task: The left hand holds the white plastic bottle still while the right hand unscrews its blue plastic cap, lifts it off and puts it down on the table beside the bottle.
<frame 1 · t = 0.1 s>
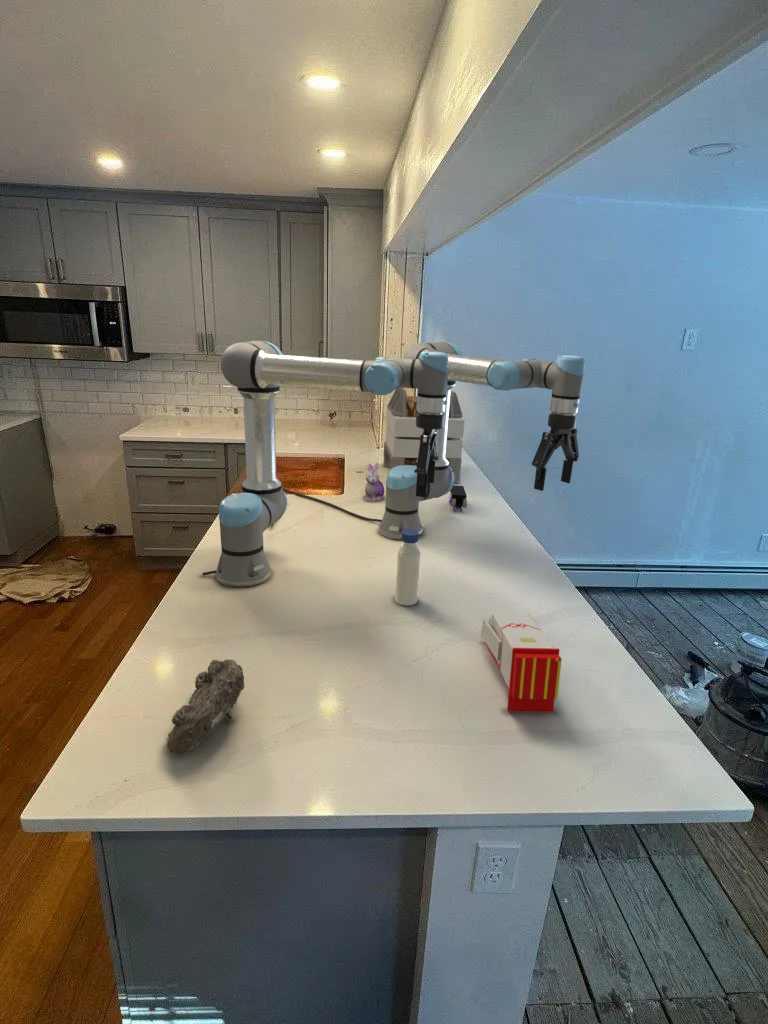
left hand: (425, 489, 157), 28 cm above the counter, tool pointing down, fingers open, 13 cm apart
right hand: (552, 485, 166), 28 cm above the counter, tool pointing down, fingers open, 13 cm apart
fossil: (212, 717, 108), on the counter
cap: (410, 533, 148), point 20 cm above the counter, screwed on, not yet turned
toy: (513, 671, 126), on the counter
feather: (278, 516, 211), on the counter
figurine: (374, 498, 235), on the counter
figurine character: (456, 507, 229), on the counter
bottle: (406, 600, 155), on the counter
grey slatted crate: (419, 473, 275), on the counter
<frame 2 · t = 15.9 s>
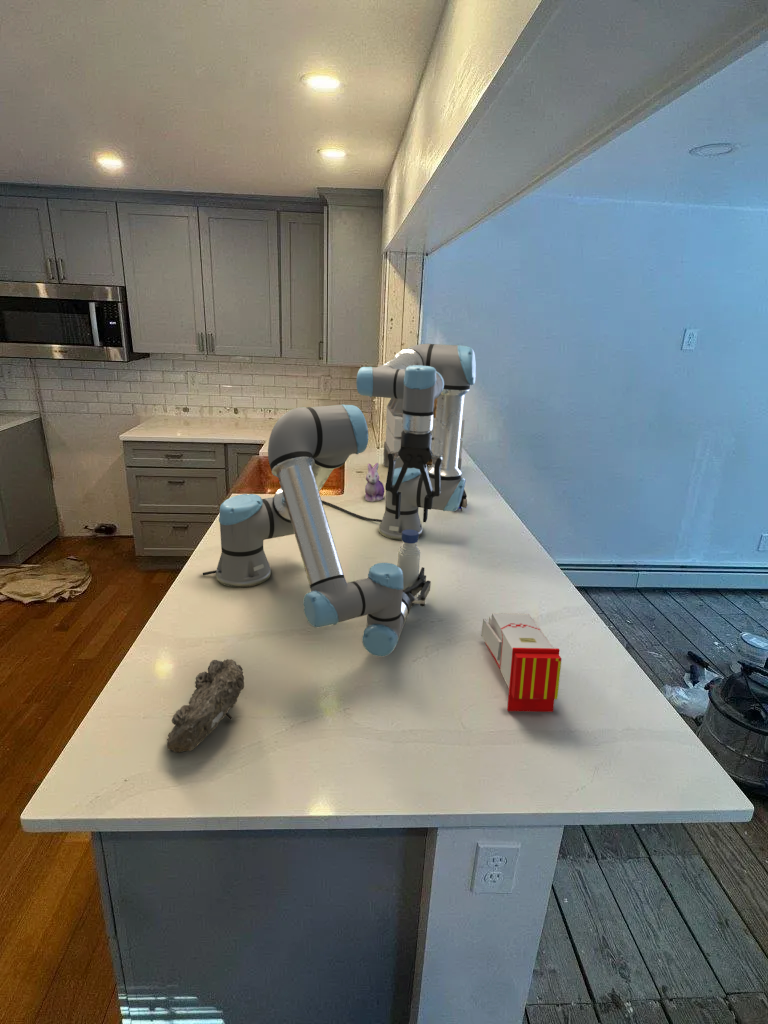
left hand: (411, 570, 157), 7 cm above the counter, tool horizontal, fingers closed on bottle, 6 cm apart
right hand: (411, 518, 147), 24 cm above the counter, tool pointing down, fingers open, 6 cm apart
bottle: (406, 600, 155), on the counter, touching left hand
everything else where it was.
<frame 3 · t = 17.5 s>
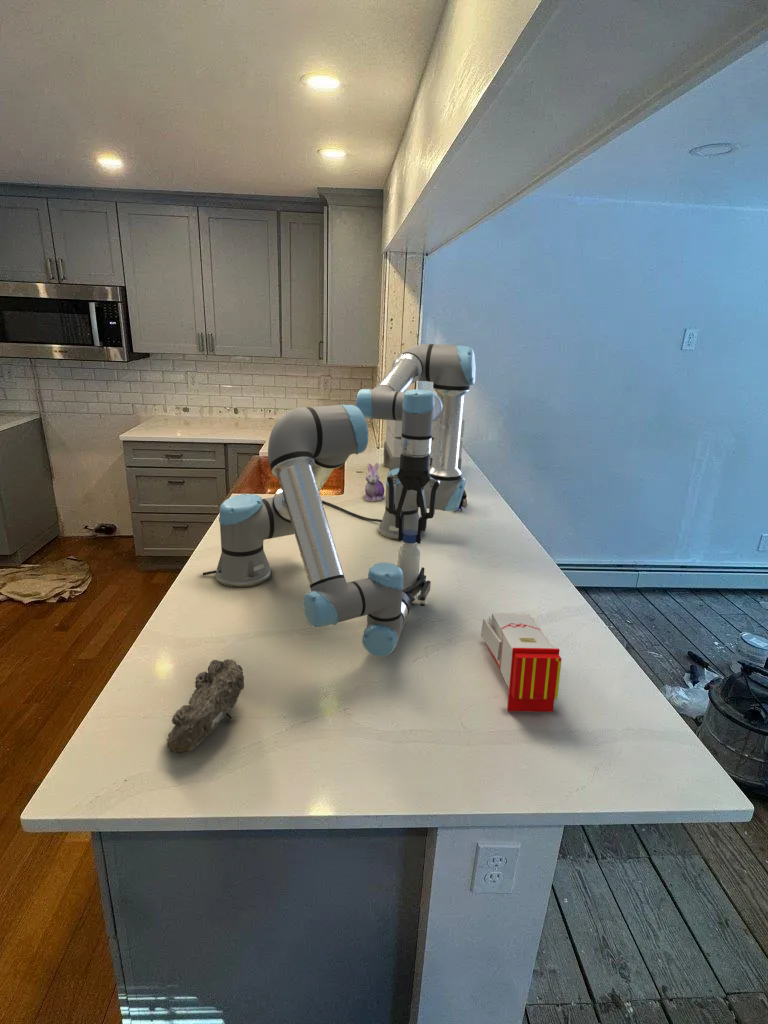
left hand: (411, 570, 157), 7 cm above the counter, tool horizontal, fingers closed on bottle, 6 cm apart
right hand: (409, 540, 149), 18 cm above the counter, tool pointing down, fingers closed on cap, 4 cm apart
cap: (410, 533, 148), point 20 cm above the counter, screwed on, not yet turned, touching right hand
bottle: (406, 600, 155), on the counter, touching left hand
everything else where it was.
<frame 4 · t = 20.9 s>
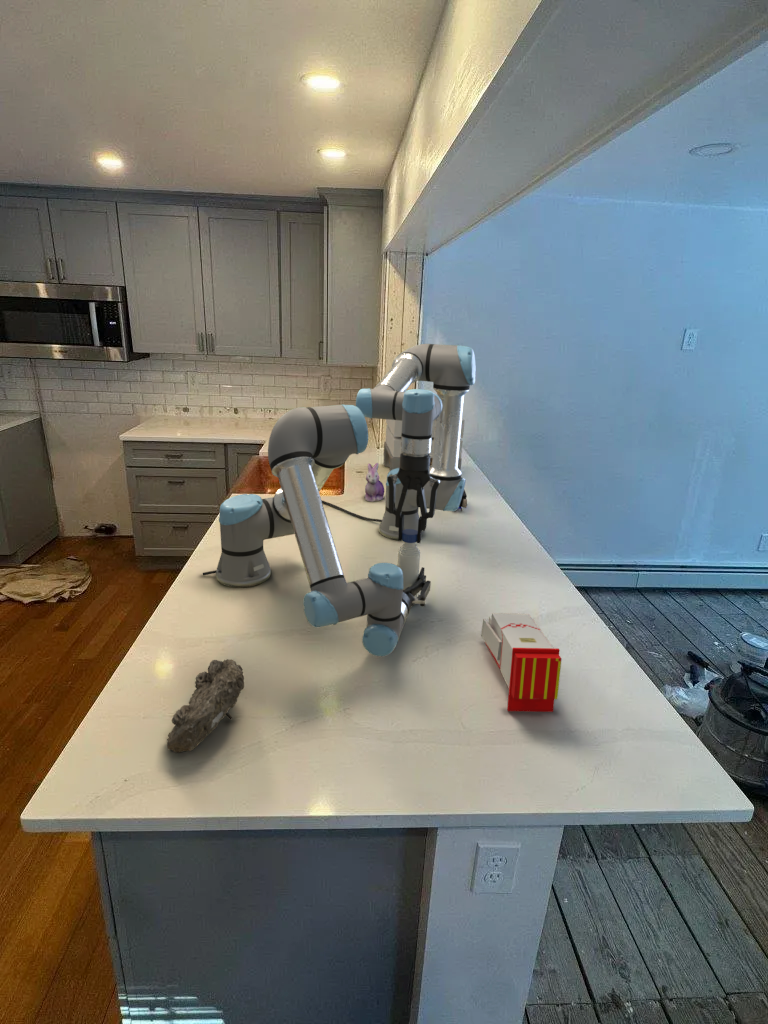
left hand: (411, 570, 157), 7 cm above the counter, tool horizontal, fingers closed on bottle, 6 cm apart
right hand: (409, 540, 149), 18 cm above the counter, tool pointing down, fingers closed on cap, 4 cm apart
cap: (410, 533, 148), point 20 cm above the counter, turned 107° so far, risen 0.1 cm, still on its thread, touching right hand
bottle: (406, 600, 155), on the counter, touching left hand
everything else where it was.
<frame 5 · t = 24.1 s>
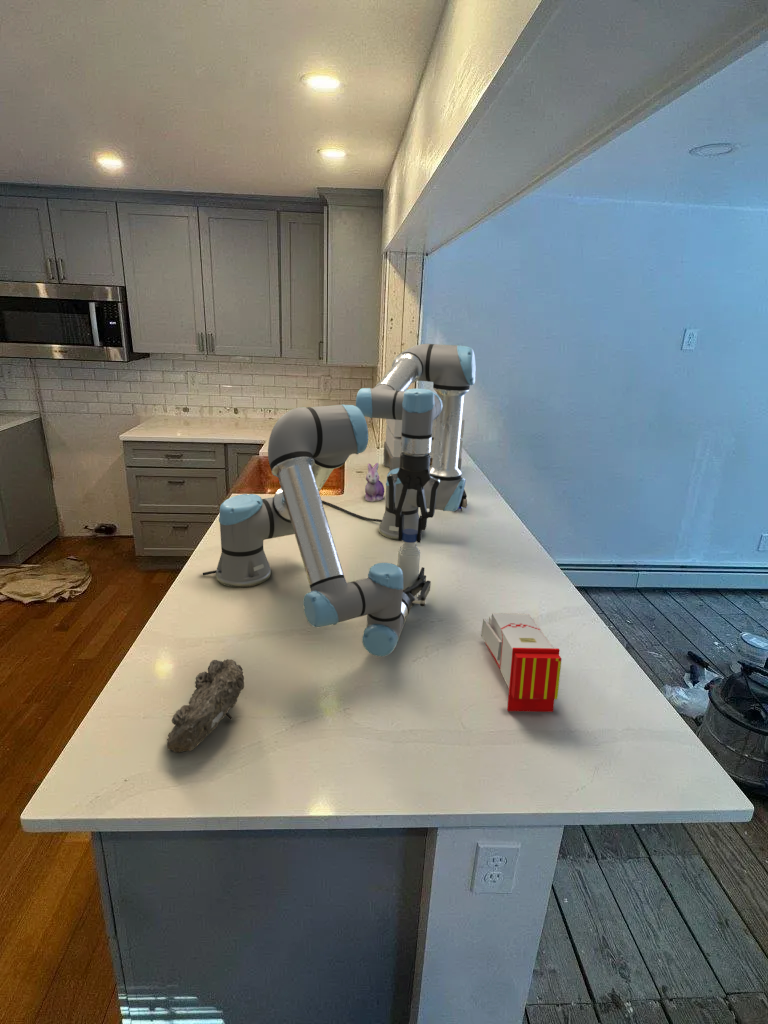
left hand: (411, 570, 157), 7 cm above the counter, tool horizontal, fingers closed on bottle, 6 cm apart
right hand: (409, 539, 149), 18 cm above the counter, tool pointing down, fingers closed on cap, 4 cm apart
cap: (410, 532, 148), point 20 cm above the counter, turned 215° so far, risen 0.2 cm, still on its thread, touching right hand
bottle: (406, 600, 155), on the counter, touching left hand
everything else where it was.
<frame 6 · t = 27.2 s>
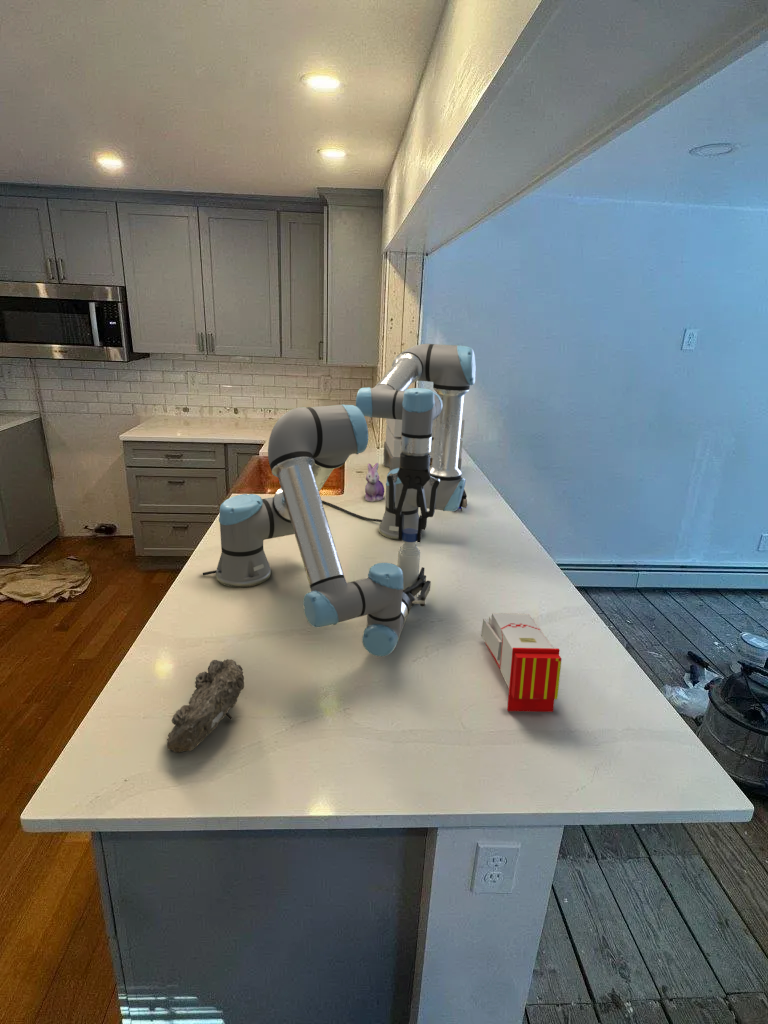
left hand: (411, 570, 157), 7 cm above the counter, tool horizontal, fingers closed on bottle, 6 cm apart
right hand: (409, 539, 149), 18 cm above the counter, tool pointing down, fingers closed on cap, 4 cm apart
cap: (410, 532, 148), point 20 cm above the counter, turned 322° so far, risen 0.3 cm, still on its thread, touching right hand
bottle: (406, 600, 155), on the counter, touching left hand
everything else where it was.
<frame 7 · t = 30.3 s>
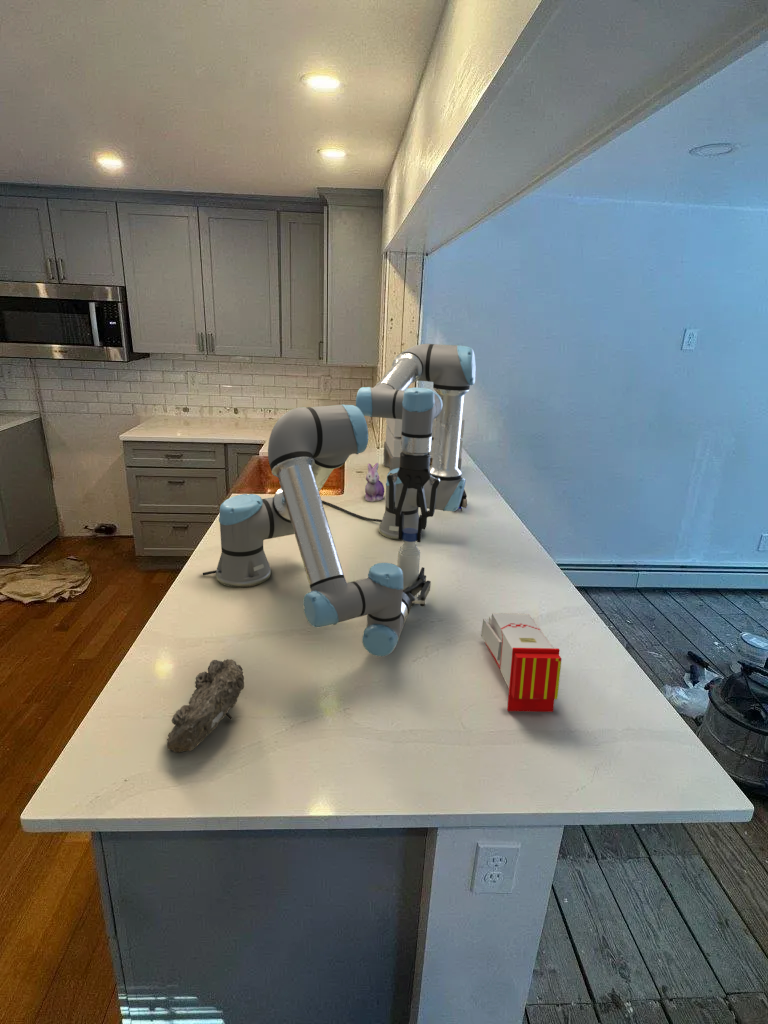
left hand: (411, 570, 157), 7 cm above the counter, tool horizontal, fingers closed on bottle, 6 cm apart
right hand: (409, 538, 149), 18 cm above the counter, tool pointing down, fingers closed on cap, 4 cm apart
cap: (410, 531, 148), point 20 cm above the counter, turned 429° so far, risen 0.4 cm, still on its thread, touching right hand
bottle: (406, 600, 155), on the counter, touching left hand
everything else where it was.
when the right hand's fingers open (1 cm above the counter, at t = 37.0 s): cap drops 1 cm, point 2 cm above the counter.
when the left hand's fingers open (7 cm above the counter, at t = 38.1 s): bottle stays where it is, on the counter.
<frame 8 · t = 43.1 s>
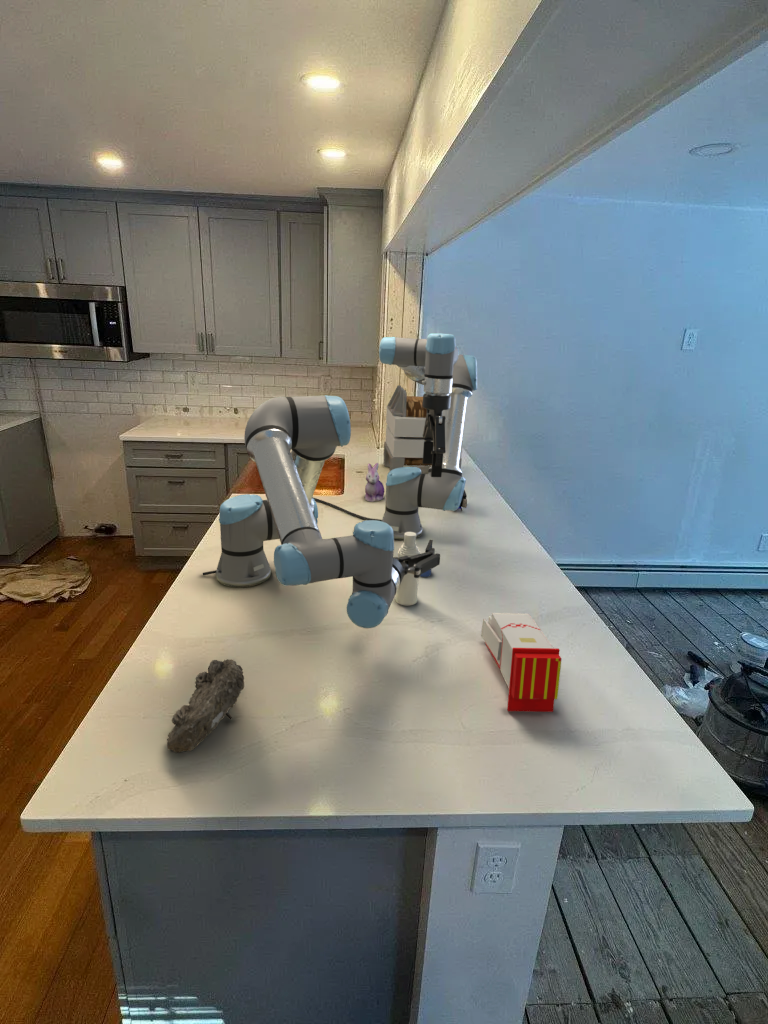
left hand: (403, 541, 139), 21 cm above the counter, tool horizontal, fingers open, 13 cm apart
right hand: (431, 470, 160), 32 cm above the counter, tool pointing down, fingers open, 13 cm apart
cap: (424, 567, 170), point 2 cm above the counter, off its thread
bottle: (406, 600, 155), on the counter
everything else where it was.
at the end: cap came off its thread; cap point 1.9 cm above the counter; the left hand is holding nothing; the right hand is holding nothing; bottle tilted 0°; bottle moved 0.0 cm from its start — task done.
